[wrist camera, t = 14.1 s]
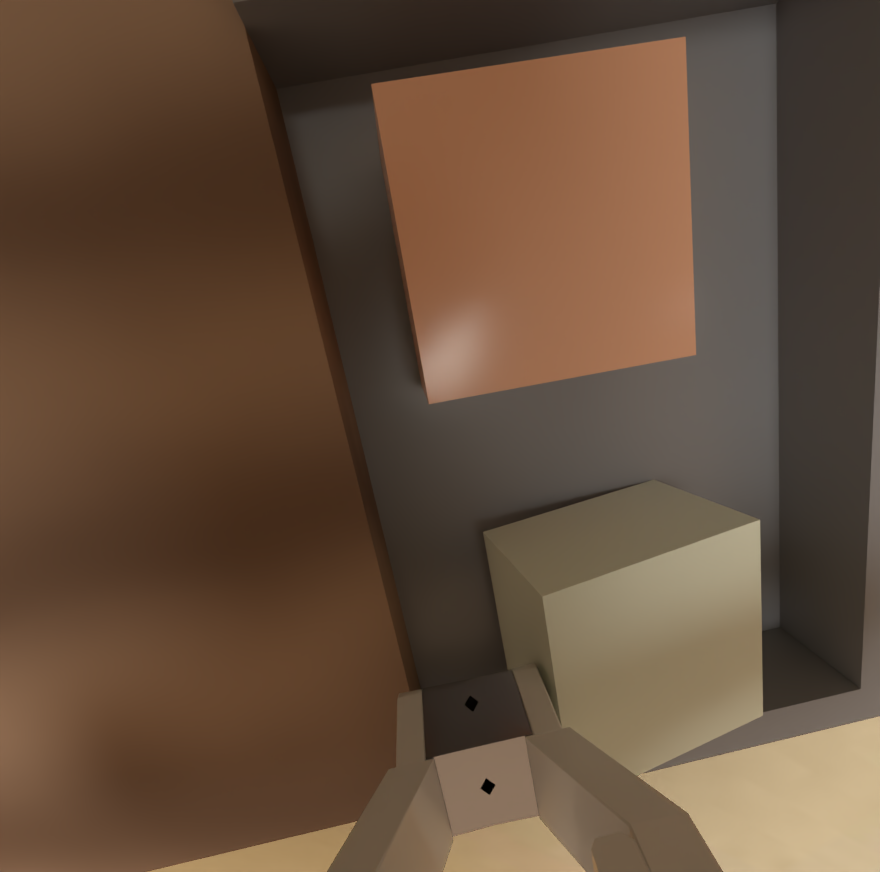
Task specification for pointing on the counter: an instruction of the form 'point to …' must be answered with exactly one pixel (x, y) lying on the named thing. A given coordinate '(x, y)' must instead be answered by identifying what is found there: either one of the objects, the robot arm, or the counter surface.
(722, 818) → the counter surface
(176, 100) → the walnut board
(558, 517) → the cream block
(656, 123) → the orange square block
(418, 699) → the robot arm
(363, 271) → the tray
